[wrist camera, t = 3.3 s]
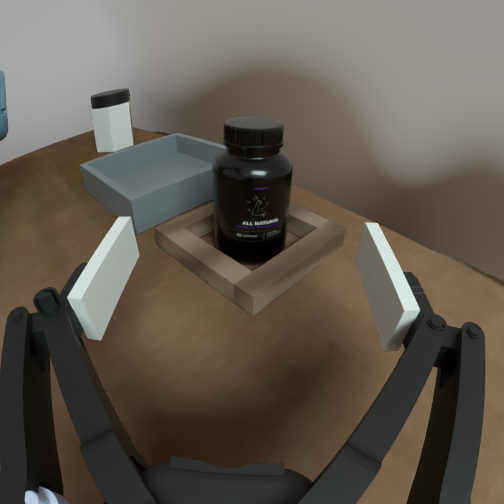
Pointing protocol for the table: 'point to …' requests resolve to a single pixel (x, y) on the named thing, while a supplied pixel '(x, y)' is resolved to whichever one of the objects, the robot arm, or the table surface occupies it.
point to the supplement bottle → (251, 190)
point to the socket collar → (236, 275)
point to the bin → (153, 178)
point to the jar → (112, 120)
